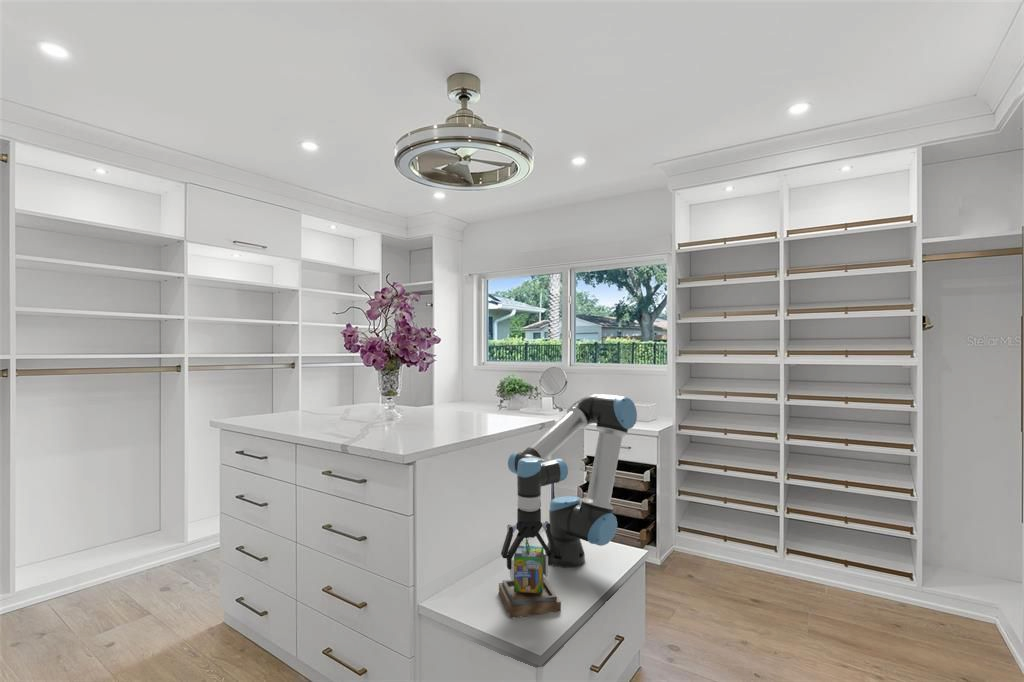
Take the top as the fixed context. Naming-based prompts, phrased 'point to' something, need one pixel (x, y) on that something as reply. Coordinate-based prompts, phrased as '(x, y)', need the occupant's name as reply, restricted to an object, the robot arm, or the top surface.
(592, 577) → the top surface
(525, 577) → the chalk box
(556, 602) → the wooden tray
